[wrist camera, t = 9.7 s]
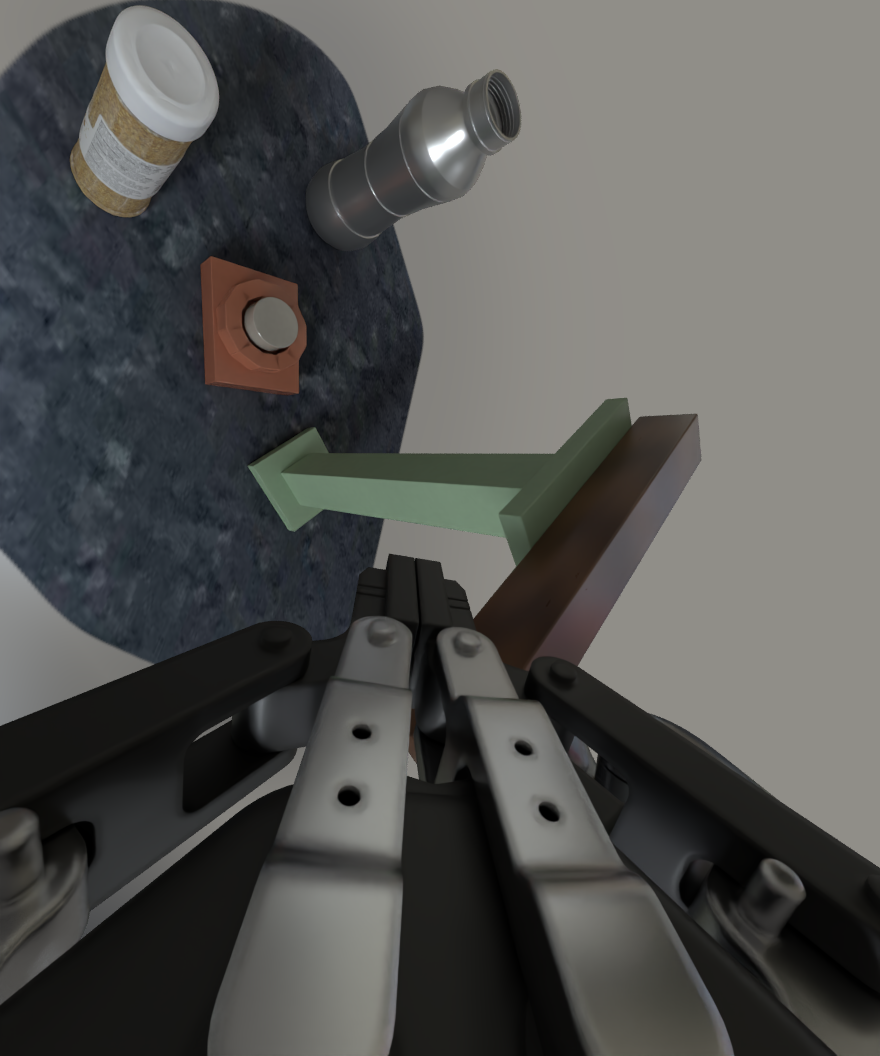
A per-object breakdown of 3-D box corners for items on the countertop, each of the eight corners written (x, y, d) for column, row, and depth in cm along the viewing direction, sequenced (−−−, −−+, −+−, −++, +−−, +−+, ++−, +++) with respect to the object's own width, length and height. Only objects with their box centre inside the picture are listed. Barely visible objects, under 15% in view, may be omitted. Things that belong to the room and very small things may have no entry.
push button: (288, 355, 38) (298, 351, 36) (244, 346, 35) (254, 342, 34) (287, 308, 37) (298, 303, 36) (242, 296, 34) (252, 290, 33)
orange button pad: (287, 395, 42) (309, 391, 39) (204, 384, 37) (224, 378, 34) (285, 290, 40) (308, 278, 38) (200, 264, 35) (219, 247, 33)
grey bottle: (298, 161, 40) (474, 5, 26) (362, 201, 45) (538, 88, 31) (293, 238, 40) (464, 125, 26) (357, 269, 45) (529, 188, 31)
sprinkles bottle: (100, 126, 30) (159, -19, 21) (164, 196, 33) (240, 96, 24) (49, 165, 29) (88, 27, 19) (120, 235, 32) (184, 144, 22)
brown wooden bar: (419, 769, 16) (487, 817, 14) (387, 722, 14) (457, 767, 12) (645, 459, 27) (701, 460, 25) (638, 416, 26) (698, 412, 24)
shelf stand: (271, 543, 42) (556, 628, 22) (227, 477, 39) (517, 506, 18) (355, 479, 48) (643, 498, 27) (324, 417, 44) (626, 387, 24)
